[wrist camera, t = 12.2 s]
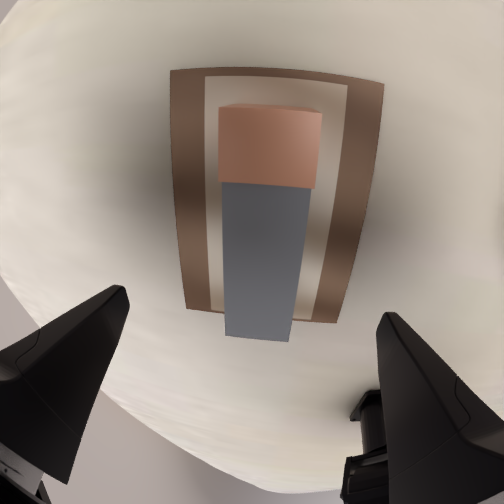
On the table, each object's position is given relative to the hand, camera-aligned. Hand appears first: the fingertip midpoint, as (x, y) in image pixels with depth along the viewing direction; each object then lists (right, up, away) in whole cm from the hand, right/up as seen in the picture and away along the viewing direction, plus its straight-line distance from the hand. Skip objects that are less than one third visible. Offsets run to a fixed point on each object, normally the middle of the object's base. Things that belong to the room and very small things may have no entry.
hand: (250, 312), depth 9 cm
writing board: (+1, +4, +7) cm, 9 cm away
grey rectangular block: (+1, +4, +7) cm, 8 cm away
